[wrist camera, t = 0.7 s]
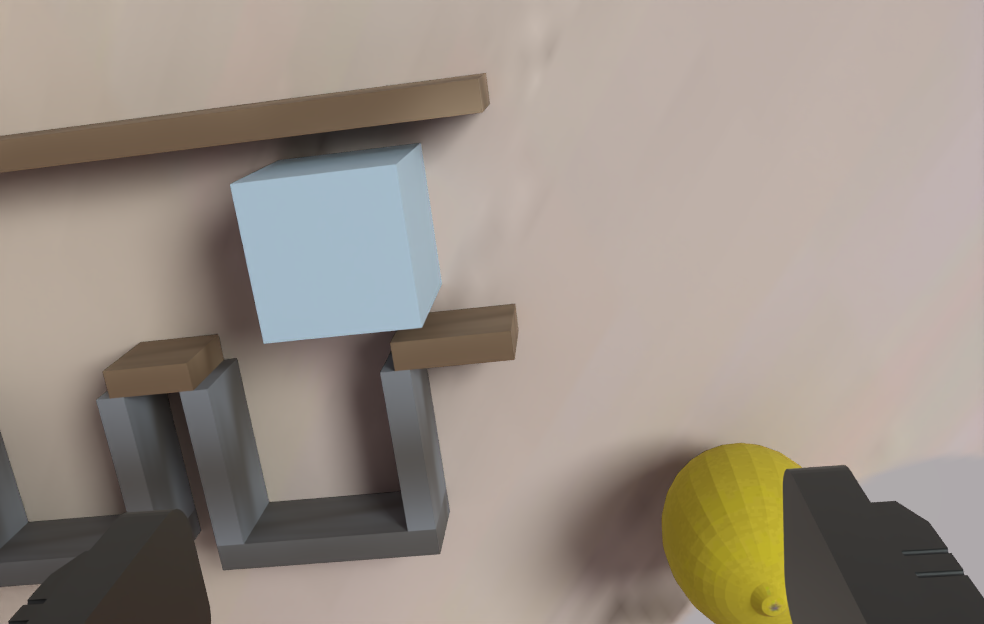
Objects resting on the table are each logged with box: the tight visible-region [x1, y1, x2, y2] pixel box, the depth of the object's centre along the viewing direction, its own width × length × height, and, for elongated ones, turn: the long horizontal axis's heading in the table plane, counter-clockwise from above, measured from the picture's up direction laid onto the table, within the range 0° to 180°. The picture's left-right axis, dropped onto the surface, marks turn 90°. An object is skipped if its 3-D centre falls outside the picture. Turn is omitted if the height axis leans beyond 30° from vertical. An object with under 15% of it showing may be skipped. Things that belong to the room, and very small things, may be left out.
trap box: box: [0, 73, 518, 587], centre depth 33 cm, size 16×29×3 cm, turn 97°
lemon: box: [662, 443, 802, 624], centre depth 30 cm, size 6×6×8 cm
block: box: [230, 143, 442, 344], centre depth 30 cm, size 5×5×5 cm
